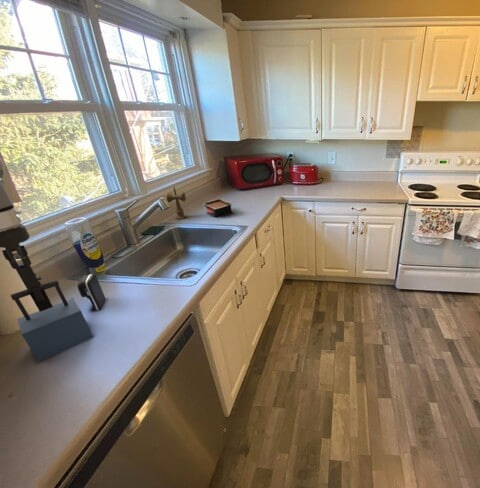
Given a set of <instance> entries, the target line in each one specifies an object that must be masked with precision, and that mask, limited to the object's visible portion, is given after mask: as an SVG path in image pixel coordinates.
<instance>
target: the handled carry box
mask: <svg viewBox="0 0 480 488" xmlns="http://www.w3.org/2000/svg"><path fill="white" fill-rule="evenodd" d="M41 286H42V287H43V289H44V291H46V290H48V289H51V288H55V290H56V292H57V294H58V295H59V297H60V299H61V301H62V302H59V303H57V304H54V305H52V306H53V307H52V308H49V309H46V310H44V311H41V312H40V311H39V310H38V311H36V312H35V311H34V312H33V313H28V311H27V310H26V308H25V306H24V305H23V303H22V301H21V298H25V297H27V296H28V297H29V296H30V294H29V293H26V294H25V292H24V291H26V290H27V288H25V289H24V290H21V291H17V292H15V293H11V294H9V295H10V298H11V299H12V301H14V303H15V304H16V305H17V307H18V309H19V310H20V312H21V313H22V315H23V316H22V317H18V318H17V322H18V327H19V331H20V334H21V336H22V338H23V340H24V341H25V343H26V344H27V346H28V347H29V348H30V350H31V352H32V353H33V355H34V356H35V358H36V360H37V361H38V363H39V362H42V361H44V360H46V359H48V358H50V357H53V356H55V355H57V354H59V353H61V352H63V351H65V350H68V349H70V348H72V347H74V346H77V345H78V344H80V343H83V342H85V341H86V340H87V341H88V340H89V339H91V338H94V335H93V333H92V331H91V329H90V326H89V325H88V322H87V321H86V318H85V317H84V314H83V313H82V311H81V309H80V307H79V305H78V304H77V302H76V301H75V299H74V298H69V299H67V298H66V297H65V295H64V293H63V291H62V288H61V287H60V282H59V281H58V279H54V280H51V281H48V282H45V283H41Z"/></svg>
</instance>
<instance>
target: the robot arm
mask: <svg viewBox="0 0 480 488" xmlns="http://www.w3.org/2000/svg"><path fill="white" fill-rule="evenodd" d="M21 214H22V211H21V210H19V209H17V210H16V207H15V205H14V203H13V202H12V200H11V197H10V195H9V193H8V191H7V189H6V188H5V185H4V183H3V179H2V178H1V177H0V248H1V249H2V248H3V249H2V250H1V252H2V255H3V257H4V259H5V260H6V261H8V263H9V264H10V267H11V268H12V269H13V270H15V271H16V273H17V274H18V276H19V279H20V280H21V281H22V283H23V285H24V286H25V290H26V289H27V290H26V291H24V292H25V294H26V293H29V294H30V295H29V296H30V298H31V299H32V301H33V303H34V304H35V307H36V308H37V310H38V311H40V312H41V311H44V310H46V309H49V308H52V307H53V306H54V305H53V303H52V302H51V299H50V298H49V296H48V294H47V292H46V290H44V289H43V287H42V286H41V285H42V282H41V280H42V276H37V274H36V273H35V271H34V270H33V268H32V266H31V265H32V261H31V259H30V258H29V256H28V255H29V254H28V251H27V249H26V247H25V245H21V243H25V242H26V241H28V240H29V239H30V234H29V232H28V229H27V228H26V226H25V225H24V224H22V222H23V221H22V218H21V217H20V215H21Z"/></svg>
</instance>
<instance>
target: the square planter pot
mask: <svg viewBox="0 0 480 488" xmlns="http://www.w3.org/2000/svg"><path fill="white" fill-rule="evenodd" d="M202 204H203V205H204V206H205V208H206V211H207V212H206V213H207V214H210V215H211V216H213V217H214V218H215V217H218V216H227V215H233V212H232V202H229V201H227V200H224V199H222V198H216V199H212V200H209V201H205V202H203V203H202Z"/></svg>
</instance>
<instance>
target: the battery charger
mask: <svg viewBox="0 0 480 488" xmlns="http://www.w3.org/2000/svg"><path fill="white" fill-rule="evenodd" d="M76 287H77V290H78V292H79V295H80V297H81V298H86V299H88V300H89V301H90V303H91V306H90V311H91V312H96V311H100V310H102V308H103V306H104V305H105V302H106V296H105V294H104V291H103V288H102V286H101V284H100V282H99V279H98V277H97V275H96V274H94V273H90V274H86V275H83V276H82V277H80V279H79V280H78V282H77V285H76Z"/></svg>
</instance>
